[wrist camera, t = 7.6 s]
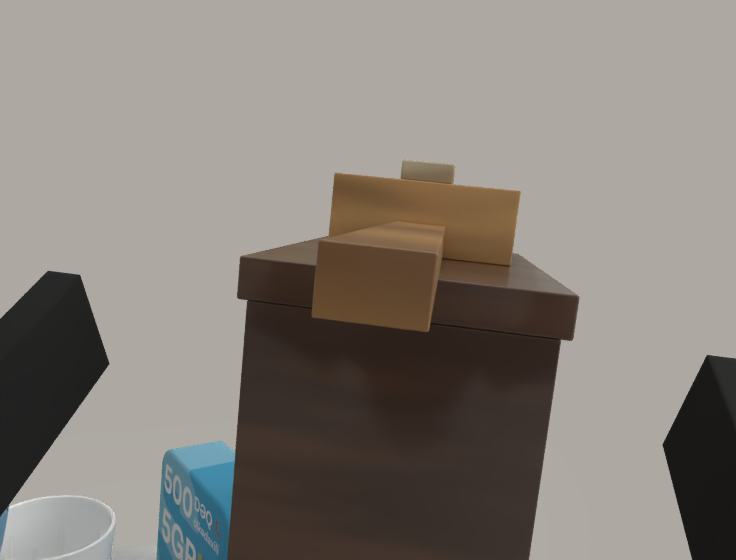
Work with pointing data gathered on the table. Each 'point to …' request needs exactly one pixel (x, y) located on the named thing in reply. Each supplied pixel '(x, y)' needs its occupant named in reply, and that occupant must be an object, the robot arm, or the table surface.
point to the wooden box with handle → (405, 242)
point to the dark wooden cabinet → (394, 417)
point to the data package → (196, 502)
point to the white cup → (59, 529)
